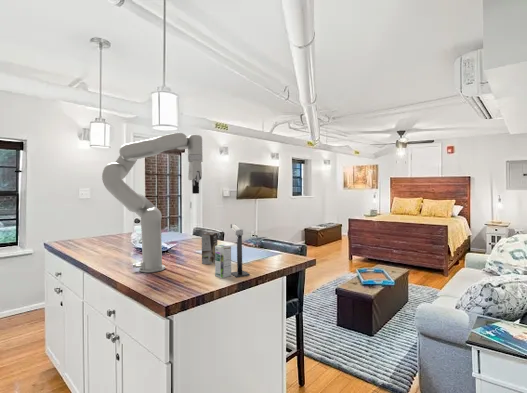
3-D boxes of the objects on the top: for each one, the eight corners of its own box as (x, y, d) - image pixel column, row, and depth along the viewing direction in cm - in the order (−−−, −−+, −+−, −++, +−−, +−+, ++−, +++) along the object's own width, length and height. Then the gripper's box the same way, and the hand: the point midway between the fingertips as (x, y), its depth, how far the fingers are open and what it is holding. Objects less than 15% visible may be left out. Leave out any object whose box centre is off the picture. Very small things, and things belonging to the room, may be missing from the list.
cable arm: (243, 235, 150) (243, 230, 150) (236, 235, 149) (235, 230, 149) (236, 228, 176) (236, 223, 176) (229, 228, 175) (229, 223, 175)
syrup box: (214, 276, 150) (214, 245, 150) (224, 273, 154) (224, 244, 154) (221, 278, 146) (221, 247, 146) (231, 275, 150) (231, 245, 150)
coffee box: (212, 264, 173) (212, 235, 172) (201, 264, 174) (201, 234, 174) (218, 260, 182) (217, 232, 181) (207, 260, 183) (207, 232, 182)
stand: (236, 277, 147) (235, 237, 146) (230, 274, 153) (229, 235, 152) (249, 275, 150) (249, 235, 150) (243, 272, 156) (242, 233, 156)
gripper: (184, 159, 172) (185, 193, 173) (192, 157, 159) (192, 193, 159) (198, 160, 175) (198, 193, 176) (206, 157, 162) (206, 193, 163)
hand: (195, 193), depth 168 cm, fingers closed
